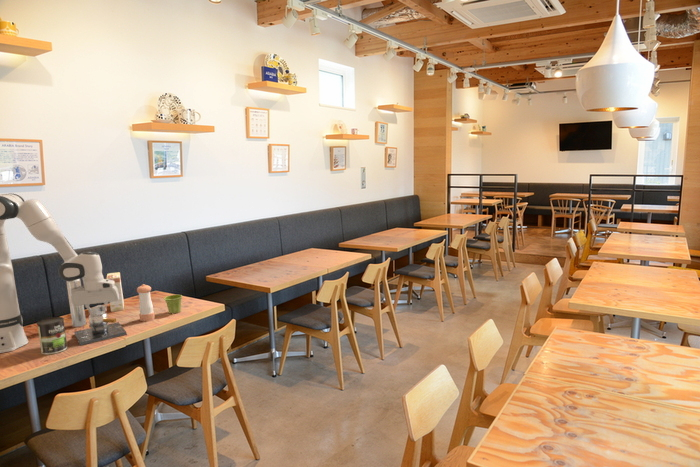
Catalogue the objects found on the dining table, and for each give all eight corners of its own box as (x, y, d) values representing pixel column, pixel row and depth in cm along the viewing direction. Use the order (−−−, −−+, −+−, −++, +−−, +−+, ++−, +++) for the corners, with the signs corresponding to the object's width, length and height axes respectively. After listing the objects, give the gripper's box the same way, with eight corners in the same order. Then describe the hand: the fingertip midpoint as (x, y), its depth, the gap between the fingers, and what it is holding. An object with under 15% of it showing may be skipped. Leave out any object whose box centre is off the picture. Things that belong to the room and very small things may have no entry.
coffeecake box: (111, 305, 284) (107, 273, 281) (124, 303, 287) (120, 271, 284) (110, 312, 270) (106, 278, 267) (124, 309, 273) (120, 276, 270)
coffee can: (72, 347, 218) (68, 318, 216) (49, 356, 209) (44, 325, 207) (59, 344, 223) (55, 315, 221) (36, 352, 214) (31, 322, 212)
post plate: (80, 345, 221) (78, 335, 220) (74, 334, 236) (73, 324, 235) (126, 334, 232) (125, 324, 231) (118, 324, 247) (117, 315, 247)
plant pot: (178, 314, 260) (176, 299, 258) (162, 314, 261) (160, 299, 260) (186, 309, 269) (185, 294, 267) (171, 309, 270) (170, 294, 269)
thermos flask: (82, 327, 247) (75, 280, 243) (69, 327, 247) (63, 280, 243) (89, 322, 253) (83, 276, 249) (77, 323, 253) (70, 277, 249)
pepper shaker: (154, 316, 259) (150, 281, 256) (154, 320, 253) (150, 285, 250) (140, 318, 257) (136, 283, 254) (139, 322, 250) (135, 286, 247)
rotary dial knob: (83, 327, 230) (81, 309, 228) (100, 320, 240) (98, 303, 238) (107, 329, 226) (104, 311, 224) (123, 321, 236) (121, 304, 234)
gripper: (68, 288, 225) (72, 316, 227) (115, 283, 230) (119, 310, 233) (71, 285, 231) (75, 312, 233) (117, 280, 236) (121, 307, 239)
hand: (97, 311), depth 233 cm, fingers closed on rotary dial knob, 5 cm apart
